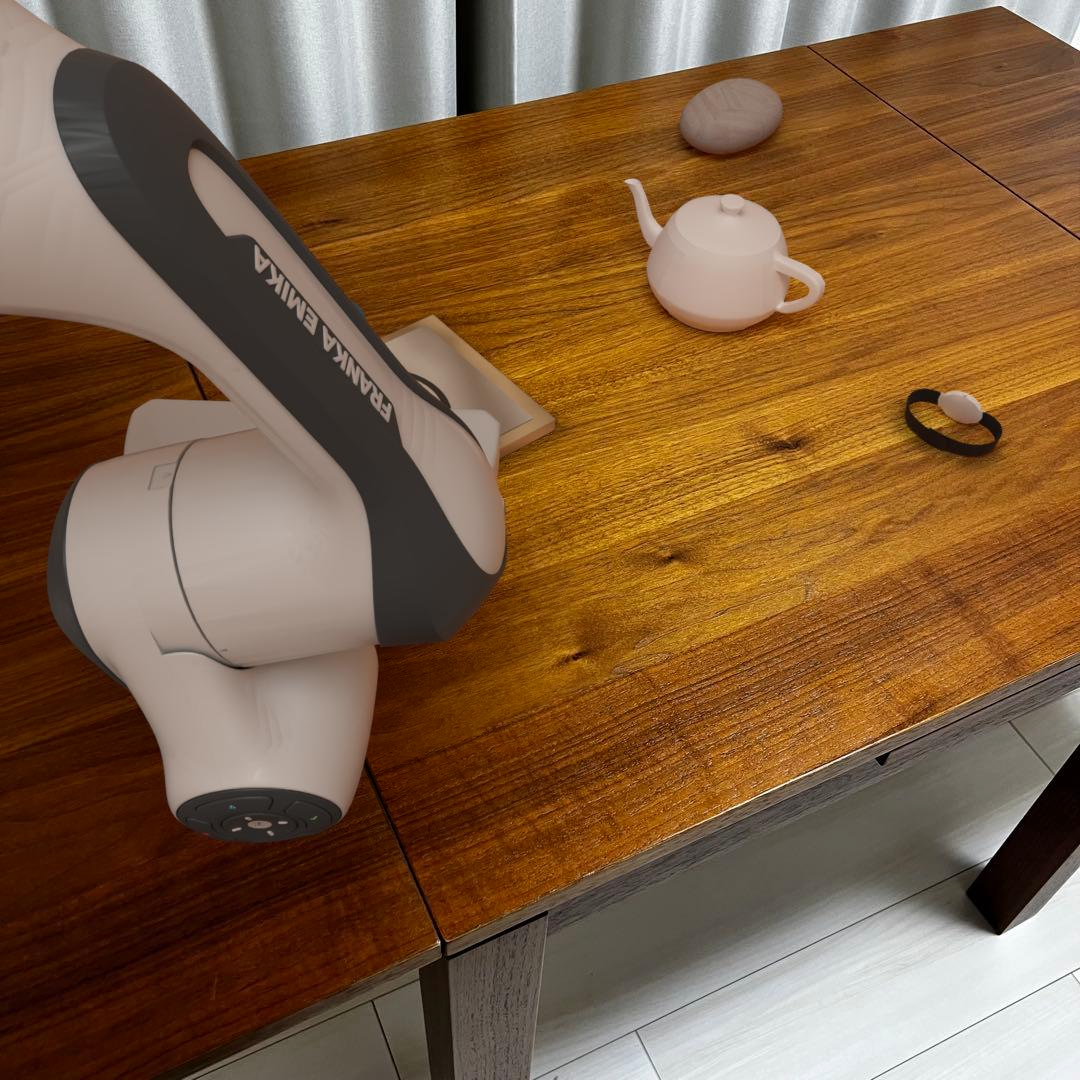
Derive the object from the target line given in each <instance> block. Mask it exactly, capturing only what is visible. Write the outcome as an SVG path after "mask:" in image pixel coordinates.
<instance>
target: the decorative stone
mask: <svg viewBox="0 0 1080 1080" xmlns="http://www.w3.org/2000/svg"><path fill="white" fill-rule="evenodd" d="M783 107H784V106H783V103H782V100H781V98H780V96H779V94H778V93H777V92H776V91H775V90H774V89H773V88H771V87H770V86H769V85H767V84H765V83H763V82H762V81H759V80H755V79H751V78H745V77H744V78H743V77H737V78H736V77H735V78H729V79H724V80H721V81H718V82H715V83H713V84H710V85H709V86H707V87H705V88H704V89H702V90H700V91H699V92H697V93H696V95H694V96H693V97H692V98H691V99H690V100H689V101H688V102H687V104H686V105H684V107H683V109H682V111H681V113H680V115H679V121H678V122H679V130H680V133H681V135H682V137H683V139H684V140H685V141H686V142H687V143H688V144H689V145H690V146H691V147H692V148H695V149H697V150H698V151H701V152H703V153H706V154H707V153H708V154H715V155H725V154H726V155H727V154H732V153H733V154H734V153H738V152H741V151H745V150H747V149H750V148H752V147H754V146H756V145H758V144H760V143H763V141H765V140H766V139H768V138H769V137H770V136H771V135H773V133H774V132H775V131H776V130H777V128H778V127H779V125H780V124H781V122H782V119H783V114H784V108H783Z"/></svg>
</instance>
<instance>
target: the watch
mask: <svg viewBox="0 0 1080 1080" xmlns="http://www.w3.org/2000/svg"><path fill="white" fill-rule="evenodd" d="M906 399H907V400H906V405H905V410H904V419H905V423H906V425H907V427H908V428H909V429H910V430H911V431H912V432H913V433H914V434H915V435H916V436H918V438H920V439H921V440H923V441H924V442H926V443H927V444H928V445H930V446H932V447H933V448H935V449H938V450H940V451H947V452H950V453H952V454H956V455H959V456H964V457H981V456H985V455H987V454H989V453H991V452H993V451H994V449H996V446H997V444H998V443H999V441H1000V440H1001V438H1002V436H1003V427H1002V424H1001V422H999V420H998V419H997V418H996V417H995V416H993V415H992V414H990V413H988V412H986V411H987V410H983V407H982V404H980V402H979V400H977V399H976V398H975V397H974V396H973V395H971V394H969V393H967V392H964V391H962V390H961V391H960V390H951V391H947V392H946V393H945V392H942V391H939V390H935V389H931V388H918V389H915V390H913V391H911V392H910V393H909V395H908V396H907V398H906ZM916 403H927V404H928V403H929V404H933V405H936V406H938V407H940V409H941V410H942V411H943V413H944V414H945V415H946V416H947V417H949V418H950V419H952V420H953V421H956V422H958V423H961V424H965V425H966V424H967V425H969V424H978V425H980V426H982V427H984V428H985V429H986V430H988V431H989V433H990V434H991V435H992V436H993V438H994V440H993V441H991V442H989V443H982V444H981V443H980V444H977V443H976V444H975V443H973V444H971V443H966V442H962V441H959V440H958V439H957V440H956V439H954V438H951V437H949V436H946V435H944V434H942V433H940V432H938V431H937V430H936V429H934V428H932V427H927V426H926V425H924V424H923V423H922V422H921V421H920V420H919V419H917V418H916V416H915V415H914V414H913V412H912V411H911V409H910V406H911V405H913V404H916Z"/></svg>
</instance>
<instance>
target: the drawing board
mask: <svg viewBox="0 0 1080 1080" xmlns="http://www.w3.org/2000/svg"><path fill="white" fill-rule="evenodd" d="M380 338H381V340H382V341H383V342H384V343H385V344H386V346H387V347H388V348H389V349H390V351H391V352H392V353H393V354H394V356H395V357H396V358H397V359H398V360H399V362H400V363H401V364H402V365H403V366H404V368H405V369H406V370H407V371H408V372H409V373H410V374H411V375H412V376H413V377H414V378H415V379H416V380H417V381H418V382H419V383H420V384H421V385H422V386H423V387H424V388H425V389H427V390H428V391H429V392H430V393H431V394H432V395H434V396H435V397H436V398H438V399H439V400H440V401H441V402H442V403H444V404H445V405H446V406H447V407H448V408H450V409H479V410H485V411H487V412H489V413H490V414H491V415H492V416H493V417H494V418H495V419H496V420H497V421H498V422H499V423H500V426H501V429H500V457H499V460H501V459H503V458H505V457H507V456H509V455H511V454H512V453H514V452H517V450H520V449H522V448H523V447H525V446H527V445H529V444H531V443H533V442H535V441H537V440H539V439H540V438H542V437H544V436H546V435H548V434H549V433H552V432H554V431H555V429H556V420H557V419H556V418H555V417H554V416H553V415H552V414H551V413H549V412H548V411H547V410H546V409H545V408H543V407H542V406H541V405H540V404H539V403H537V402H536V401H535V400H534V399H533V398H532V397H530V396H529V395H528V394H527V393H526V392H525V391H523V390H522V389H521V388H520V387H519V386H518V385H517V384H515V383H514V382H513V381H512V380H511V379H509V377H507V376H506V375H505V374H504V373H502V372H501V371H500V370H499V369H498V368H497V367H495V366H494V365H493V364H492V363H491V362H490V361H488V360H487V359H486V358H485V357H484V356H483V355H481V354H480V353H479V352H477V350H476V349H475V348H473V347H472V346H471V345H469V344H468V343H467V342H466V341H465V340H463V338H462V337H460V336H459V335H458V334H457V333H456V332H454V331H453V330H452V329H451V328H450V327H448V326H447V325H446V324H445V323H444V322H442V320H441V319H439V318H438V317H437V316H436V315H434V314H431V315H429V316H427V317H424V318H422V319H419V320H417V321H415V322H413V323H410V324H409V325H406V326H404V327H401V328H400V329H397V330H395V331H393V332H391V333H388V334H386V335H383V336H382V337H380Z"/></svg>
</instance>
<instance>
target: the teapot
mask: <svg viewBox="0 0 1080 1080" xmlns="http://www.w3.org/2000/svg"><path fill="white" fill-rule="evenodd" d="M624 184H626V186H627V187H628V189H629V190H630V193H631V195H632V197H633V201H634V204H635V205H634V206H635V210H636V216H637V220H638V224H639V228H640V231H641V235H642V236H643V239H644V241H645V242H646V244H647V246H649V248H650V249H651V250H650V252H649V254H648V257H647V262H646V276H647V280H648V284H649V287H650V289H651V291H652V293H653V294H654V297H655V299H657V301H658V302H659V303H660V305H661V306H662V307H663V308H664V309H665V310H666V311H667V312H668V314H669V315H670V316H672V318H674V319H676V320H678V321H679V322H681V323H683V324H684V325H687V326H689V327H691V328H693V329H697V330H701V331H705V332H711V333H731V332H736V331H744V330H745V329H746V328H749V327H750V326H754V325H755V324H758V323H760V322H762V321H764V320H766V319H768V318H769V317H770V316H773V314H775V312H777V313H780V314H793V313H797V312H801V311H805V310H807V309H809V308H810V307H813V306H814V305H815V304H816V303H817V302H819V301H820V300H821V299H822V297H823V296H824V293H825V289H826V281H825V280H824V278H823V277H822V275H821V274H820V273H818V272H817V271H816V270H814V269H813V268H811V266H809V265H807V264H805V263H804V262H803V263H802V262H800V261H798V260H795V259H793V258H791V257H789V252H788V246H787V241H786V237H785V235H784V232H783V230H782V227H781V225H780V223H779V221H778V219H777V218H776V216H775V215H774V214H773V213H772V212H771V211H769V210H768V209H766V208H765V207H764V206H762V205H760V204H758V203H756V202H754V201H751V200H749V199H747V198H746V199H745V198H743V197H742V196H741V195H738V194H734V193H727V194H724V195H722V194H721V195H720V194H713V195H712V194H711V195H703V196H700V197H696V198H693V199H690V200H689V201H686V202H685V203H684V204H683V205H681V206H680V207H679V208H678V209H677V210H676V211H675V212H674V213H672V215H671V216H670V217H669V219H668V220H667V222H666V224H665V225H664V227H662V226H661V225H660V224H659V223H658V221H657V220H656V219H655V217H654V216H653V213H652V210H651V207H650V203H649V200H648V197H647V195H646V192H645V189H644V187H643V185H642V182H641V181H640V180H639V179H636V178H629V179H625V180H624ZM791 278H793V279H796V280H797V281H799V282H801V283H803V284H804V285H806V286H807V287H808V289H809V290H808V294H807V295H806V296H804V297H801V298H799V299H795V300H791V301H785V299H786V297H787V295H788V292H789V289H790V283H791Z"/></svg>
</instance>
